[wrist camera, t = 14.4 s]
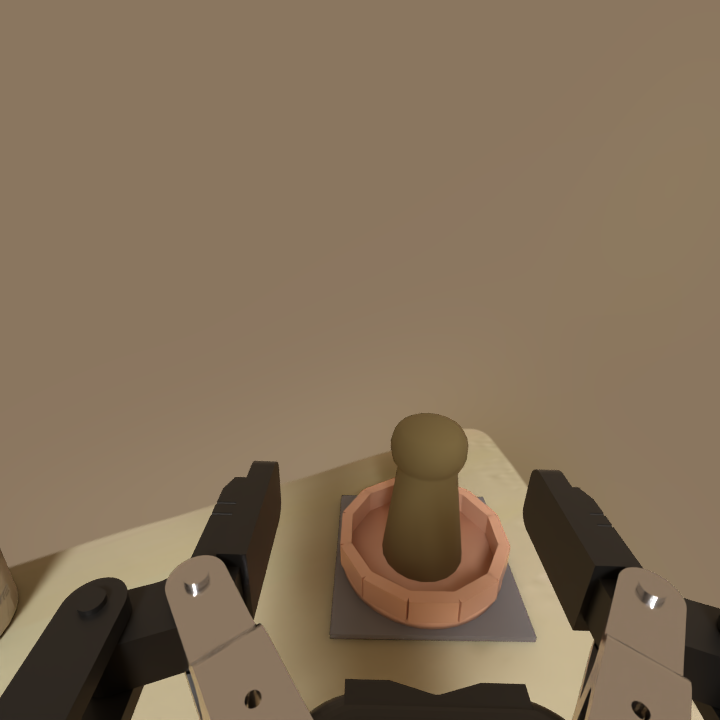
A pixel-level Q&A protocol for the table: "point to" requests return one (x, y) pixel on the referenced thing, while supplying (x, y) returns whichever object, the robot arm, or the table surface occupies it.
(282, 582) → the table surface
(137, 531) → the table surface
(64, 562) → the table surface
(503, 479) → the table surface
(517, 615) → the mat
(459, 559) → the pepper mill
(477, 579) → the bowl
